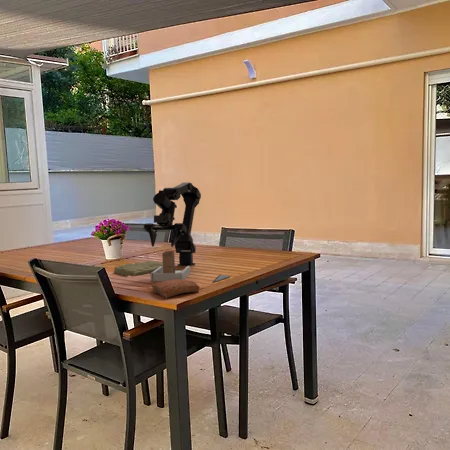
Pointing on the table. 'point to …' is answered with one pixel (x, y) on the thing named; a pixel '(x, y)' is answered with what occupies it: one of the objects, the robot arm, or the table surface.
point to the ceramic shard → (174, 287)
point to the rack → (169, 274)
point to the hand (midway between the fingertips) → (162, 246)
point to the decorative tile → (137, 268)
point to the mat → (220, 278)
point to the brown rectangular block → (168, 262)
